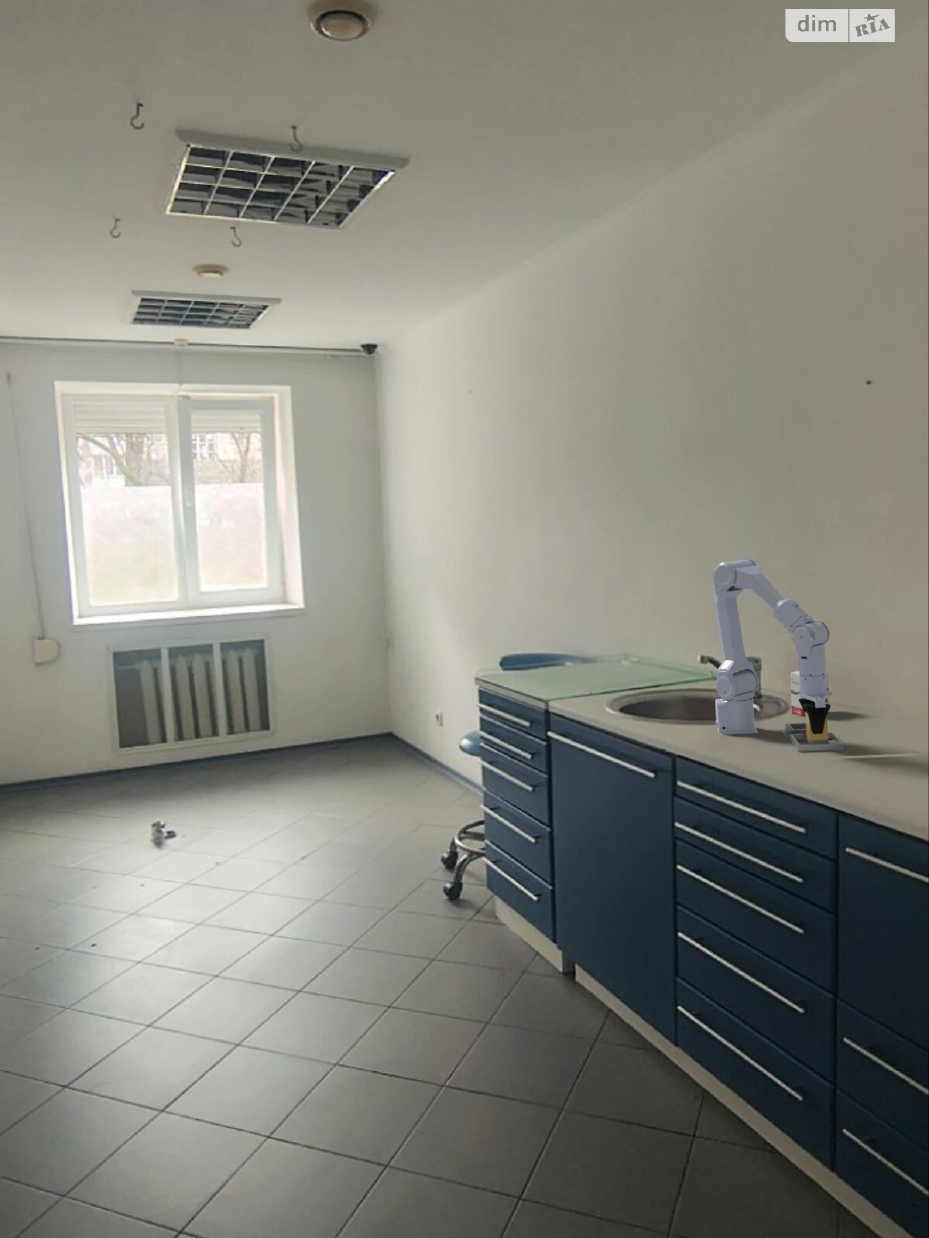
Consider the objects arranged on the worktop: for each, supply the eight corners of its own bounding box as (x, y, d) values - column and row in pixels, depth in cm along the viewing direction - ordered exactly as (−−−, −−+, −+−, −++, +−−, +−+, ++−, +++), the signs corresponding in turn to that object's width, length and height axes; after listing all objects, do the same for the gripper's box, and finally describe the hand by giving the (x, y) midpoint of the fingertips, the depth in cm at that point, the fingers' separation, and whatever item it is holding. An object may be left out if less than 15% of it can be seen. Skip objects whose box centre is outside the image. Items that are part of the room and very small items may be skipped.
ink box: (802, 718, 231) (800, 675, 229) (791, 715, 235) (789, 672, 234) (830, 714, 232) (828, 670, 231) (819, 710, 237) (817, 667, 236)
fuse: (810, 744, 203) (808, 715, 202) (806, 740, 207) (805, 711, 206) (828, 743, 202) (826, 714, 201) (824, 739, 206) (823, 710, 205)
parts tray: (798, 754, 201) (797, 745, 200) (790, 742, 210) (789, 734, 210) (844, 752, 199) (843, 743, 198) (833, 740, 208) (833, 732, 208)
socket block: (787, 741, 211) (786, 731, 211) (780, 731, 220) (779, 722, 220) (826, 739, 210) (825, 729, 209) (818, 730, 218) (817, 720, 218)
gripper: (838, 679, 195) (841, 738, 196) (823, 667, 209) (826, 722, 210) (805, 680, 196) (808, 739, 198) (792, 668, 210) (795, 723, 212)
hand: (815, 730), depth 204 cm, fingers closed on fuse, 4 cm apart
